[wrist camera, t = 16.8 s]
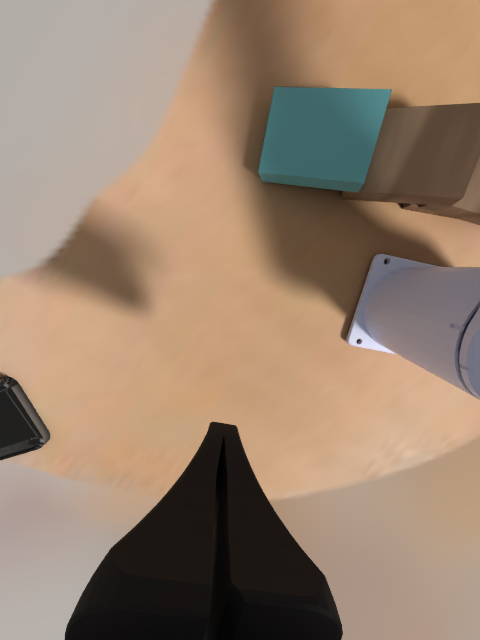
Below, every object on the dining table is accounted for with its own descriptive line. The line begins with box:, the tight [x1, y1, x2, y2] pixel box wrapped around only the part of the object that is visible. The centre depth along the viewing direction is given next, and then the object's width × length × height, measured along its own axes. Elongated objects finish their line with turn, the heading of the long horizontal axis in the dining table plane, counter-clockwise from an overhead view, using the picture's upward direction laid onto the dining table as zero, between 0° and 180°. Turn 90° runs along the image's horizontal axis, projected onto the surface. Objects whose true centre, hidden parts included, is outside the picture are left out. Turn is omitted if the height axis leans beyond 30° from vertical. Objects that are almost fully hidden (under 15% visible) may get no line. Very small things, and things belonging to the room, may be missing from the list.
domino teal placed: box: [258, 87, 392, 192], centre depth 15 cm, size 2×5×7 cm
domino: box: [342, 103, 480, 206], centre depth 15 cm, size 2×5×7 cm
